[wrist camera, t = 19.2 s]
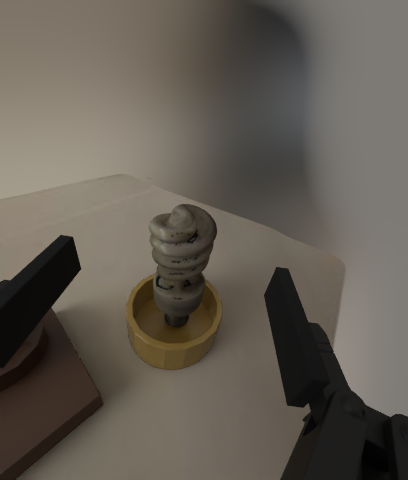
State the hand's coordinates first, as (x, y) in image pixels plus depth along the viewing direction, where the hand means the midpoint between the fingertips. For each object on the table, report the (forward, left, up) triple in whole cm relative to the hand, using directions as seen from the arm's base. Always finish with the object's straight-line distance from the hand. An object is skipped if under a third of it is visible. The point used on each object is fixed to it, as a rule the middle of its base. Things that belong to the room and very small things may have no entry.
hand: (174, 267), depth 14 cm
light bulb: (+3, -3, -13) cm, 14 cm away
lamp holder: (+3, -4, -13) cm, 14 cm away
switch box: (+7, +10, -13) cm, 18 cm away
